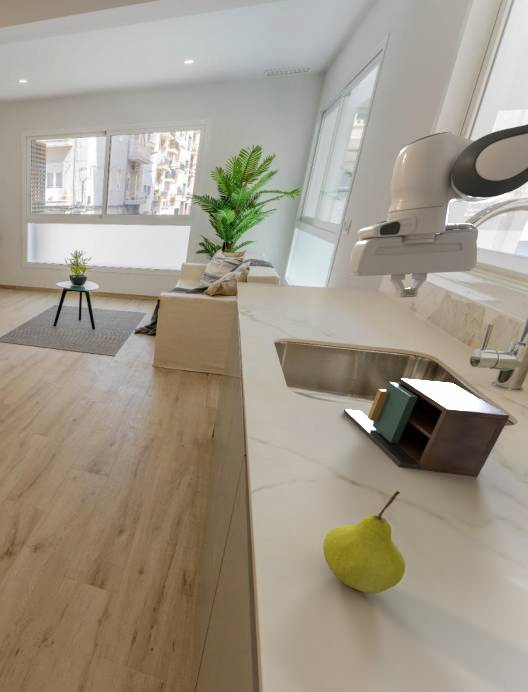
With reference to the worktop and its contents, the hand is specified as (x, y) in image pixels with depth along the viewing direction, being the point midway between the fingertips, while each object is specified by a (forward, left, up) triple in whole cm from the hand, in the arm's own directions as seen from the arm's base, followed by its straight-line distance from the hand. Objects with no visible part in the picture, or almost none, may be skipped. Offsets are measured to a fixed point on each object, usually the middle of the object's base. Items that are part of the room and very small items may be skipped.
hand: (405, 297), depth 86 cm
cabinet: (+5, +21, -22) cm, 31 cm away
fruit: (+29, +58, -22) cm, 68 cm away
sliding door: (+9, +22, -21) cm, 31 cm away
